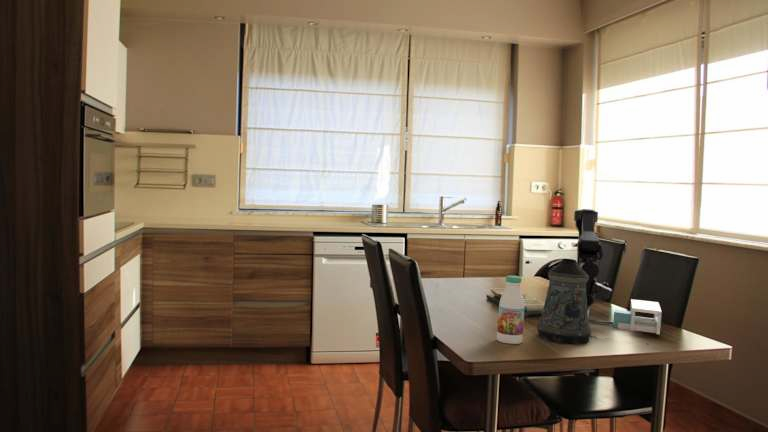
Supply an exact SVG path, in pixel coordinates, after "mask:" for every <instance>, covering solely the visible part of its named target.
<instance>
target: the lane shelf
mask: <svg viewBox="0 0 768 432" xmlns="http://www.w3.org/2000/svg"><path fill="white" fill-rule="evenodd" d="M629 309H630V310H629V311H632V316H631V324H627V323H619V322H618V327H617V329H619V330H621V329H622V330H628V331H631V332H634V331H636V332H645V333H652V334H656V335H660V334H661V324H662V313H663V311H662V309H661V305H660V303H659V301H651V300H642V299H632V298H631V299H630V307H629ZM636 312H637V313H639V312H640V313H647V314H653V317H643V316H636Z"/></svg>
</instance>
